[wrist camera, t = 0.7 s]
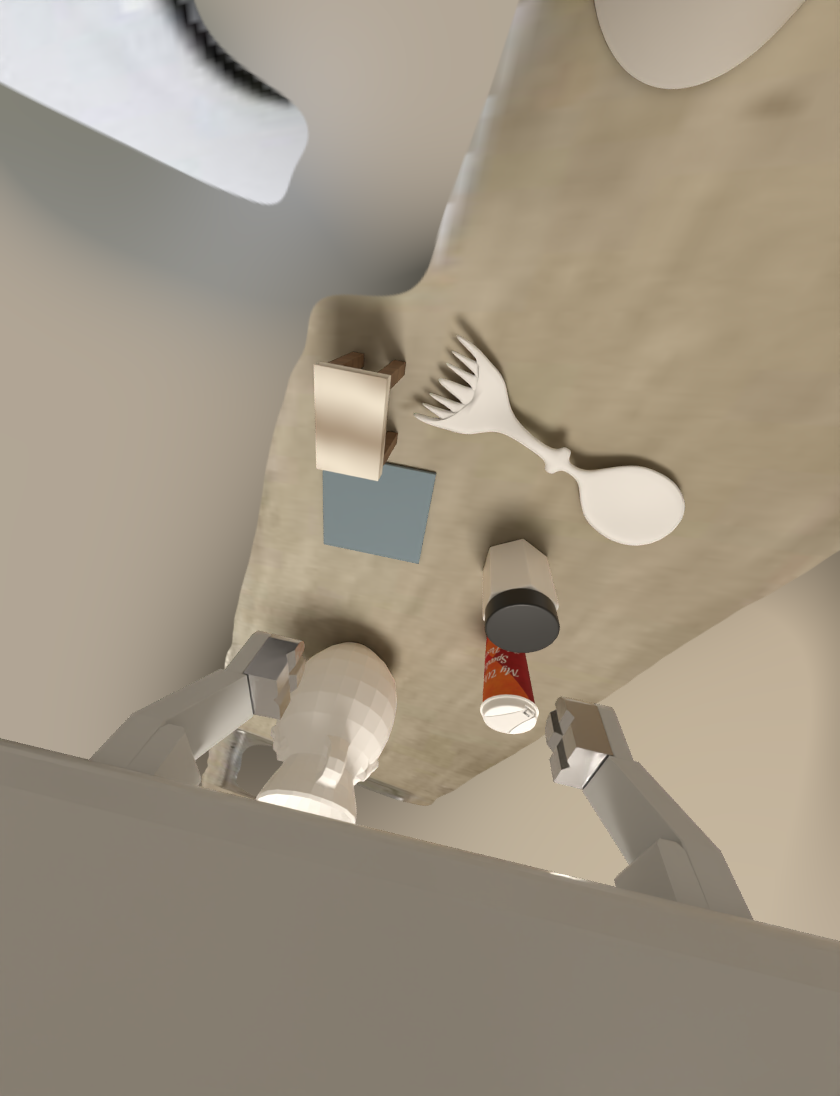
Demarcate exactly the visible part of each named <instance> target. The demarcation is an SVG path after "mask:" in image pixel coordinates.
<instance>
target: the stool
mask: <svg viewBox="0 0 840 1096" xmlns="http://www.w3.org/2000/svg"><path fill="white" fill-rule="evenodd" d="M405 366H406V362H403V361H398V360H394V361H392V362H391V363H390V364H388V365H387V366H386V367H384V368H383V369H381V370H380V371H379V372H372V371H367V370H362V369H361V368H362V367H364V354H362V353H357V352H351V353H349V354H346V355H344V356H342V357H340V358H337V359H335V360H333V361H330V362H328V363H326V362H319V363H316V364H314V395H315V433H316V469H321V470H326V471H330V472H335V473H340V474H345V475H350V476H355V477H360V478H365V479H370V480H375V481H378V480H379V479H380V477H381V475H382V468H383V466H384V464H385V463H386V461H387V459H388V457H389V456H390V454H391V452H392V450H393V449H394V447H395V445H396V443H397V436H398V433H395V432H390V431H387V433H386V425H387V414H388V403H389V393H390V389H391V388H392V387H393V386H394V385H395V384H396V383H397V382H398V381H399V380H400V379H401V378H402V377H403V376H404V375H405Z"/></svg>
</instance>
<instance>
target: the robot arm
mask: <svg viewBox="0 0 840 1096" xmlns="http://www.w3.org/2000/svg"><path fill="white" fill-rule="evenodd" d="M805 1H806V0H594V2H595V8H596V12H597V17H598V20H599V24H600V27H601V30H602V33H603V35H604V38H605V40H606V43H607V45H608V46H609V48H610V50H611V52H612V54H613V55H614V57H615V58H616V60H617V61H618V62H619V64H620V65H621V66H622V67H623V68H624V69H625V70H626V71H627V72H628V73H629V74H630V75H632V76H633V77H634V78H636V79H637V80H639V81H641V82H643V83H645V84H647V85H650V86H653V87H657V88H664V89H681V88H687V87H692V86H696V85H699V84H702V83H705V82H708V81H710V80H712V79H714V78H717V77H719V76H721V75H722V74H724V73H726V72H728V71H729V70H731V69H733V68H734V67H736V66H737V65H739V64H740V63H742V62H743V61H744V60H746V59H747V58H748V57H750V56H751V55H752V54H753V53H755V52H756V51H757V50H758V49H759V48H760V47H762V46H763V45H764V44H765V43H766V42H767V41H768V40H769V39H770V38H771V37H772V36H773V35H774V34H775V33H776V32H777V31H778V30H779V29H780V28H781V27H782V26H783V25H784V24H785V23H786V22H787V21H788V19H789V18H790V17H791V16H792V15H793V14H794V13H795V12H796V11H797V10H798V8H799V7H800V6H801V5H802V4H803V3H804V2H805ZM304 650H305V645H304V641H300V640H296V639H292V638H288V637H284V636H280V635H276V634H271V633H267V632H263V631H256V632H255V633H253V634H252V636H251V637H250V638H249V639H248V641H247V642H246V643H245V645H244V646H243V647H242V648H241V650H240V651H239V652H238V653H237V655H236V656H235V657H234V659H233V660H232V661H231V662H230V664H229V665H228V666H227V667H226V669H225V670H223V669H219V670H217V671H215V672H213V673H211V674H209V675H207V676H205V677H203V678H201V679H199V680H197V681H195V682H194V683H191V684H190V685H188V686H186V687H184V688H182V689H180V690H178V691H176V692H174V693H172V694H170V695H168V696H166V697H164V698H162V699H160V700H158V701H156V702H154V703H152V704H150V705H148V706H146V707H145V708H142V709H141V710H138V711H137V712H135V713H133V714H132V715H131V716H130V717H129V718H128V719H127V720H126V721H125V722H124V723H123V724H122V725H121V726H120V727H119V728H118V730H116V732H115V733H114V734H113V735H112V736H111V737H110V738H109V739H108V740H107V741H106V742H105V743H104V744H103V745H102V746H101V747H100V748H99V750H98V751H97V752H96V753H95V754H94V755H93V756H92V757H91V758H90V759H89V760H88V759H84V758H80V757H76V756H72V755H67V754H63V753H59V752H55V751H50V750H46V749H43V748H38V747H34V746H30V745H26V744H21V743H18V742H14V741H9V740H5V739H1V738H0V1096H840V941H837V940H833V939H829V938H825V937H821V936H816V935H812V934H809V933H804V932H800V931H796V930H791V929H788V928H784V927H780V926H775V925H771V924H767V923H763V922H759V921H754V920H753V918H752V916H751V913H750V911H749V909H748V907H747V905H746V903H745V901H744V899H743V897H742V895H741V892H740V890H739V888H738V886H737V884H736V882H735V880H734V878H733V876H732V874H731V872H730V869H729V867H728V865H727V863H726V861H725V859H724V857H723V855H722V853H721V851H720V850H719V849H718V848H717V847H716V845H715V844H714V843H713V842H712V841H711V840H710V839H709V838H708V837H707V836H706V835H705V834H704V832H703V831H702V830H701V829H700V828H699V827H698V826H697V825H696V824H695V823H694V822H693V820H692V819H691V818H690V817H689V816H688V815H687V814H686V813H685V812H684V811H683V810H682V809H681V807H680V806H679V805H678V804H677V803H676V802H675V801H674V800H673V799H672V798H671V797H670V796H669V794H668V793H667V792H666V791H665V790H664V789H663V788H662V787H661V786H660V785H659V784H658V783H657V781H656V780H655V779H654V778H653V777H652V776H651V775H650V774H649V773H648V772H647V771H646V770H645V768H644V767H643V766H642V765H641V764H640V763H639V762H635V761H633V758H632V755H631V753H630V750H629V748H628V745H627V742H626V739H625V737H624V734H623V732H622V729H621V726H620V724H619V721H618V719H617V716H616V713H615V711H614V709H613V708H612V707H609V706H605V705H600V704H595V703H592V702H587V701H582V700H577V699H572V698H567V697H562V696H561V697H559V698H558V699H557V701H556V703H555V706H556V710H554V711H552V712H550V714H549V716H548V718H547V721H546V727H545V732H546V742H547V745H548V746H549V747H550V749H551V750H552V751H553V754H552V755H551V757H550V764H551V771H552V776H553V781H554V782H555V783H559V784H563V785H567V786H571V787H575V788H578V789H582V790H583V793H584V795H585V796H586V798H587V799H588V801H589V802H590V804H591V806H592V807H593V808H594V810H595V812H596V813H597V815H598V817H599V818H600V820H601V821H602V823H603V825H604V826H605V828H606V829H607V831H608V832H609V834H610V836H611V837H612V839H613V840H614V842H615V843H616V845H617V846H618V848H619V850H620V851H621V853H622V854H623V856H624V857H625V859H626V861H627V862H628V864H629V866H627V867H626V868H625V869H624V870H623V871H622V872H621V873H619V875H618V876H617V877H616V878H615V879H614V881H615V885H616V887H614V886H610V885H606V884H601V883H597V882H592V881H589V880H585V879H580V878H577V877H572V876H568V875H564V874H560V873H556V872H552V871H548V870H543V869H539V868H535V867H531V866H527V865H523V864H519V863H515V862H510V861H506V860H502V859H498V858H494V857H490V856H485V855H482V854H477V853H473V852H469V851H465V850H461V849H456V848H452V847H448V846H444V845H440V844H436V843H432V842H427V841H423V840H419V839H415V838H411V837H407V836H403V835H399V834H395V833H390V832H386V831H382V830H378V829H374V828H370V827H366V826H362V825H357V824H353V823H349V822H345V821H341V820H337V819H333V818H329V817H324V816H320V815H316V814H312V813H308V812H304V811H300V810H295V809H291V808H287V807H283V806H279V805H275V804H270V803H266V802H262V801H258V800H254V799H250V798H246V797H241V796H237V795H233V794H229V793H225V792H221V791H217V790H212V789H208V788H204V787H200V786H198V785H199V783H200V782H201V777H200V773H199V770H198V767H197V765H196V762H195V760H196V759H197V758H198V757H200V756H201V755H202V754H204V753H205V752H206V751H208V750H209V749H210V748H212V747H213V746H214V745H216V744H217V743H218V742H220V741H221V740H222V739H224V738H225V737H226V736H228V735H229V734H230V733H232V732H233V731H234V730H236V729H237V728H238V727H239V726H241V725H242V724H243V723H245V722H246V721H247V720H249V719H250V718H251V717H253V714H254V715H259V716H264V717H269V718H275V719H280V720H281V718H282V716H283V714H284V712H285V710H286V708H287V707H288V705H289V703H290V701H291V698H290V692H292V691H294V690H295V689H297V688H298V686H299V684H300V682H301V679H302V676H303V673H304V670H305V658H304V657H303V656H302V653H303V652H304Z"/></svg>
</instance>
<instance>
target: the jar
mask: <svg viewBox="0 0 840 1096" xmlns="http://www.w3.org/2000/svg"><path fill="white" fill-rule="evenodd" d="M558 607H559V602H558V598H557V594H556V590H555V586H554V582H553V578H552V574H551V570H550V566H549V562H548V558H547V557H546V556H545V555H544V554H542V553H541V552H540V551H539V550H537V549H536V548H535V547H533V546H532V545H531V544H530V543H528V542H527V541H526V540H524V539H520V540H516V541H512V542H508V543H504V544H500V545H496V546H492V547H490V548H489V552H488V555H487V559H486V562H485V565H484V569H483V620H484V621H485V632H486V635H487V637H488V638H489V640H490V641H491V642H492V643H493V644H494V645H496V646H497V647H499V648H501V649H503V650H506V651H510V652H516V653H529V652H535V651H538V650H541V649H543V648H545V647H547V646H549V645H550V644H551V643H553V641H554V640H555V639H556V638H557V636H558V634H559V630H560V625H559V620H558V616H557V612H556V611H557V609H558Z"/></svg>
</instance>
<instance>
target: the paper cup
mask: <svg viewBox="0 0 840 1096" xmlns="http://www.w3.org/2000/svg"><path fill="white" fill-rule="evenodd" d="M480 712H481V714H482V716H483V719H484V721H485V723H486V724H487V725H488V726H489V727H490V728H492V729H494V730H496V731H499V732H503V733H509V734H518V733H523V732H526V731H529V730H531V729H532V728H533V727H534V726H535V724H536V719H537V717H538V714H539V711H538V708H537V706H536V705H535V702H534V697H533V692H532V686H531V681H530V676H529V671H528V665H527V660H526V655H525V653H516V652H510V651H506V650H503V649H501V648H499V647H497V646H496V645H494V644H493V643H492V642H491V641H490V640H489V638H488V637H487V641H486V655H485V671H484V688H483V703H482V704H481V706H480Z"/></svg>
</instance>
